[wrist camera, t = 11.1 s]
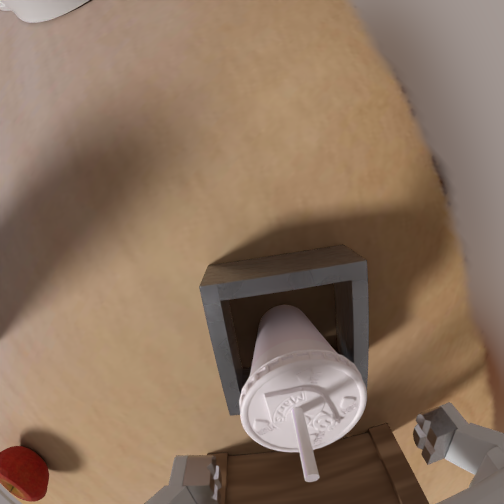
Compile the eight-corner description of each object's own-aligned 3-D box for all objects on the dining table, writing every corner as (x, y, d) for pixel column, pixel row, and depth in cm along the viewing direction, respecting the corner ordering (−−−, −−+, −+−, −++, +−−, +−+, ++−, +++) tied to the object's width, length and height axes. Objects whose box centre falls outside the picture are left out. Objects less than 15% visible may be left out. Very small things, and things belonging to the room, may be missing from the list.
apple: (56, 481, 28) (37, 517, 21) (11, 452, 27) (-11, 485, 20) (58, 458, 27) (35, 500, 19) (9, 425, 26) (-19, 461, 18)
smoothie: (272, 270, 22) (312, 401, 8) (342, 313, 23) (430, 445, 9) (224, 339, 23) (207, 496, 9) (292, 375, 24) (327, 523, 10)
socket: (208, 265, 22) (199, 286, 17) (343, 244, 22) (366, 260, 17) (232, 379, 24) (230, 415, 20) (349, 359, 24) (366, 391, 19)
